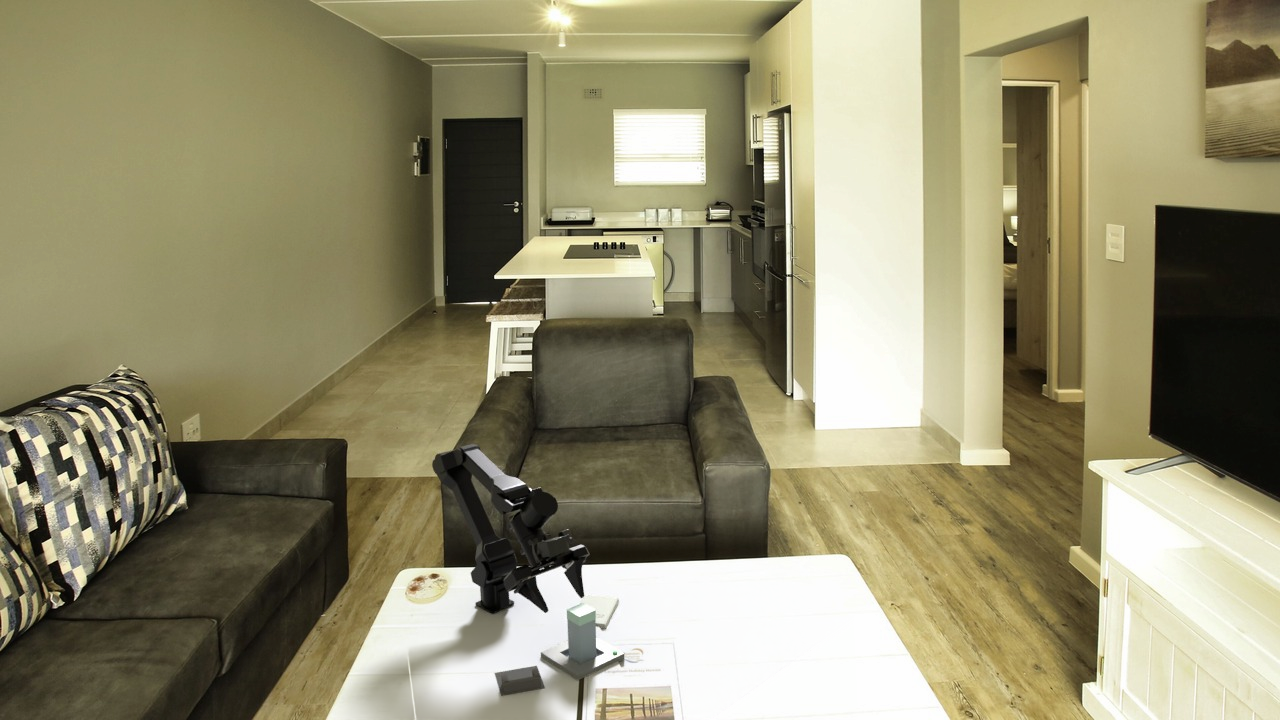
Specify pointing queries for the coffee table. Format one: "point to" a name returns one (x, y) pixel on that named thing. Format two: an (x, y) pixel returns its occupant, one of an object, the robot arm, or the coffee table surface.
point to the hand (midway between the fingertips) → (565, 604)
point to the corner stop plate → (519, 680)
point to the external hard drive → (601, 607)
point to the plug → (581, 633)
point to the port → (580, 671)
